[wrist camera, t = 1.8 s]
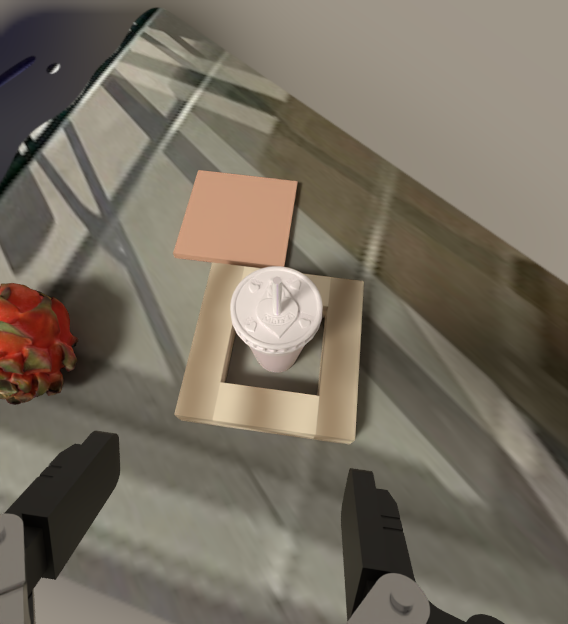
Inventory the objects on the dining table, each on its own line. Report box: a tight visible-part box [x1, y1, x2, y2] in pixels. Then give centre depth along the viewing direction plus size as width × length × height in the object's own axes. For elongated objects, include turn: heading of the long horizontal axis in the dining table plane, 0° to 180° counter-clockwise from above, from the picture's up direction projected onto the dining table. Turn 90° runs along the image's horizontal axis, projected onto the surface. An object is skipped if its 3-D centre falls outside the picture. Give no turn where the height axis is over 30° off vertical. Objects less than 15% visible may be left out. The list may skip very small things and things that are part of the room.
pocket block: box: [174, 262, 364, 444], centre depth 34 cm, size 14×14×2 cm
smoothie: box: [230, 266, 323, 372], centre depth 29 cm, size 6×6×14 cm
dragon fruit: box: [0, 283, 78, 405], centre depth 32 cm, size 8×8×12 cm
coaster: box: [173, 170, 297, 268], centre depth 41 cm, size 11×11×1 cm
